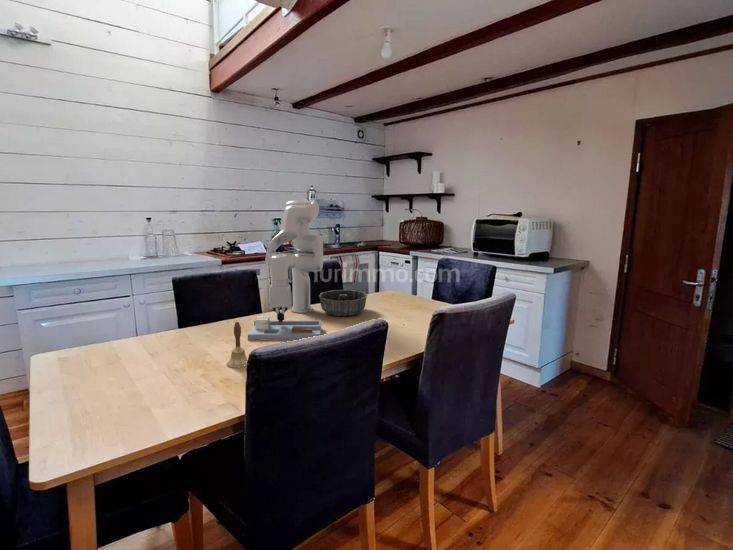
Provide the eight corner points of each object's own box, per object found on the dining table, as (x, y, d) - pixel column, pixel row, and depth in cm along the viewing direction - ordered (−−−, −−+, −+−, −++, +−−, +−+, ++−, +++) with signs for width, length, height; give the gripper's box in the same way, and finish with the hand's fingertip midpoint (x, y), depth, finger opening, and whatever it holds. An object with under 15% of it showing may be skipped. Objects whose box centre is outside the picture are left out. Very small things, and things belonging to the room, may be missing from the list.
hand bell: (255, 362, 146) (253, 321, 143) (237, 370, 139) (235, 327, 136) (239, 357, 150) (237, 317, 147) (221, 364, 143) (219, 323, 140)
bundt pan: (310, 316, 206) (310, 297, 204) (329, 304, 231) (329, 287, 229) (358, 321, 198) (358, 302, 197) (372, 308, 223) (373, 291, 221)
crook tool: (292, 330, 174) (292, 327, 174) (312, 330, 175) (312, 327, 175) (291, 332, 171) (291, 329, 171) (312, 332, 172) (312, 329, 172)
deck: (254, 329, 183) (254, 320, 182) (321, 328, 186) (321, 320, 185) (247, 340, 168) (247, 331, 168) (320, 339, 171) (320, 330, 170)
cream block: (257, 325, 180) (257, 316, 179) (269, 325, 181) (269, 316, 180) (255, 329, 175) (255, 319, 174) (268, 329, 176) (267, 319, 175)
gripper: (297, 280, 180) (297, 318, 184) (264, 280, 179) (265, 318, 183) (295, 284, 173) (296, 323, 177) (261, 284, 172) (262, 324, 176)
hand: (280, 321), depth 180 cm, fingers closed
